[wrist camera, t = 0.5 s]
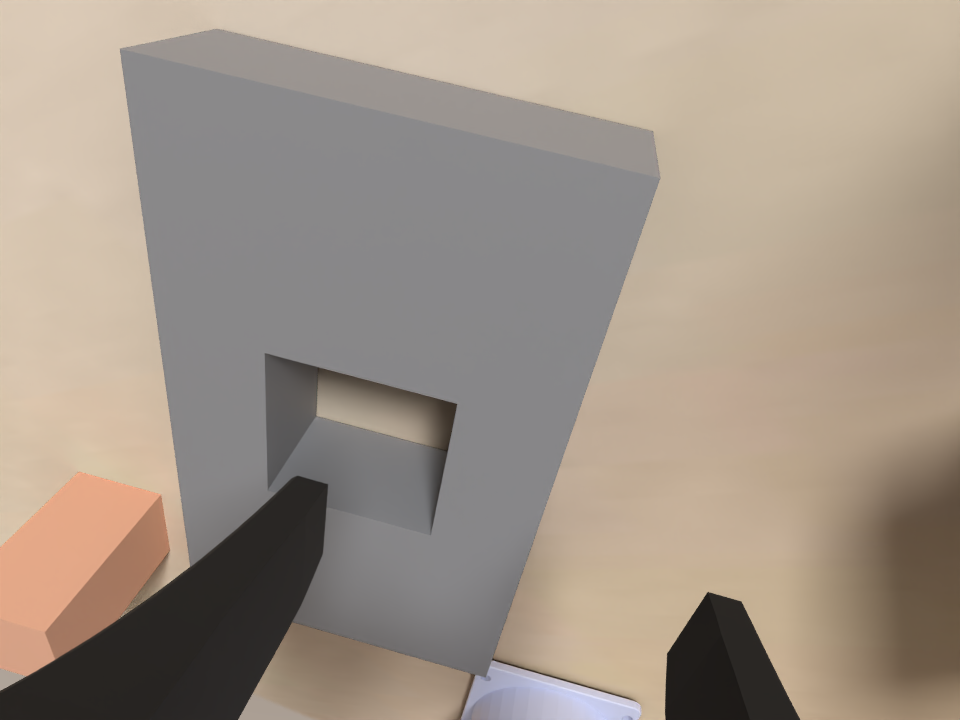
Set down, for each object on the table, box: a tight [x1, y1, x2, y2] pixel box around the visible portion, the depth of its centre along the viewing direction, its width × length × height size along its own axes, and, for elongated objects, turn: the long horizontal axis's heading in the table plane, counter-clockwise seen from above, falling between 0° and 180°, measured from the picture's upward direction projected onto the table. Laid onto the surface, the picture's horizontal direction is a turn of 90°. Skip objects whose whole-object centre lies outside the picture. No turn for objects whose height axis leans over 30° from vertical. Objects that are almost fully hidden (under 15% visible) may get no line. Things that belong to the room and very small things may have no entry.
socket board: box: [120, 29, 660, 678], centre depth 21 cm, size 20×12×4 cm, turn 169°
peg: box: [0, 472, 170, 676], centre depth 27 cm, size 4×4×7 cm
